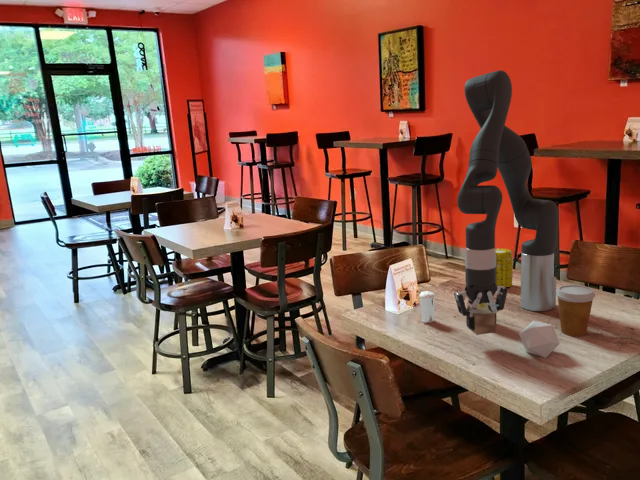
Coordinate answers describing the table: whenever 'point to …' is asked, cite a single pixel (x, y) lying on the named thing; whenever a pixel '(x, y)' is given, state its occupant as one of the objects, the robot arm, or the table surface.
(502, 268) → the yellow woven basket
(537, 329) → the die
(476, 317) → the walnut cube
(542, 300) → the robot arm
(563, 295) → the disposable coffee cup
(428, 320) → the milkshake
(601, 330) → the table surface
